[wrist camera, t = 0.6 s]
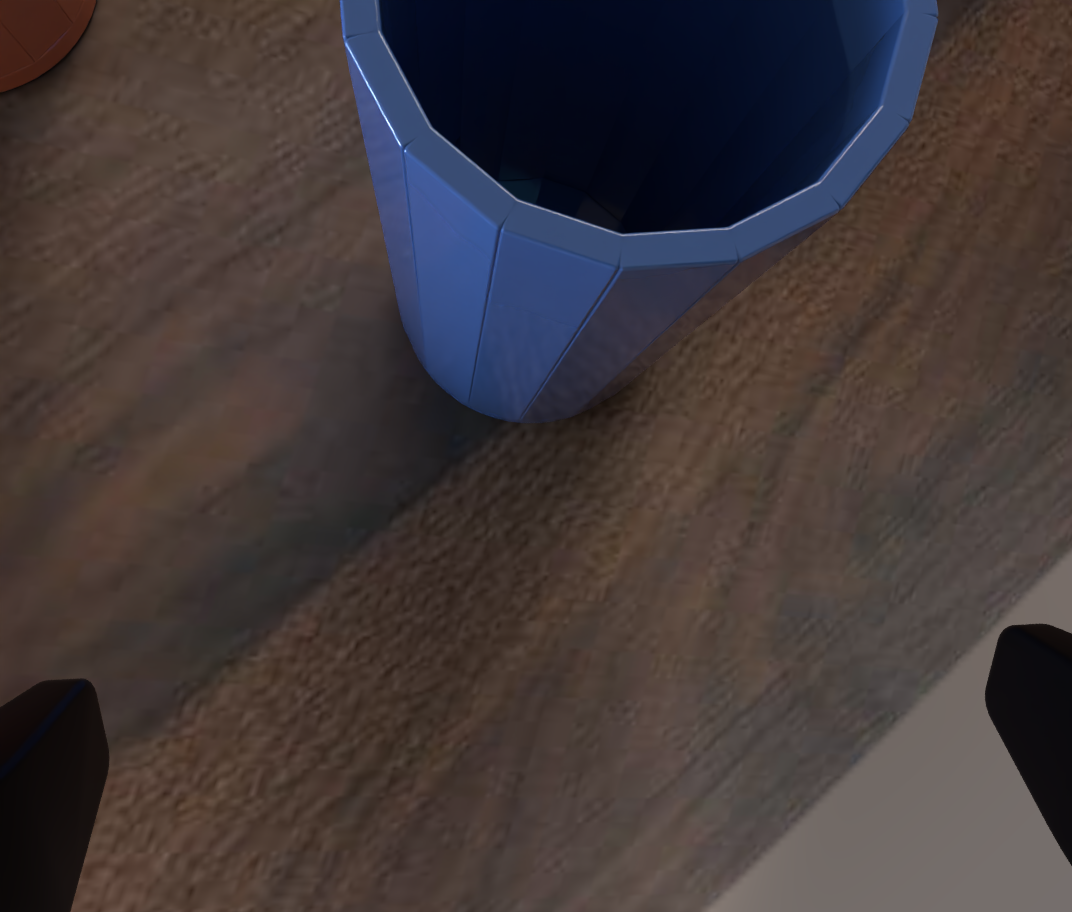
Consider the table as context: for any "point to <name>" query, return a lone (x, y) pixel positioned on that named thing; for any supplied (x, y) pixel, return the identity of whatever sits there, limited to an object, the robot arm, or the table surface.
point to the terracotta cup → (38, 36)
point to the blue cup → (609, 169)
